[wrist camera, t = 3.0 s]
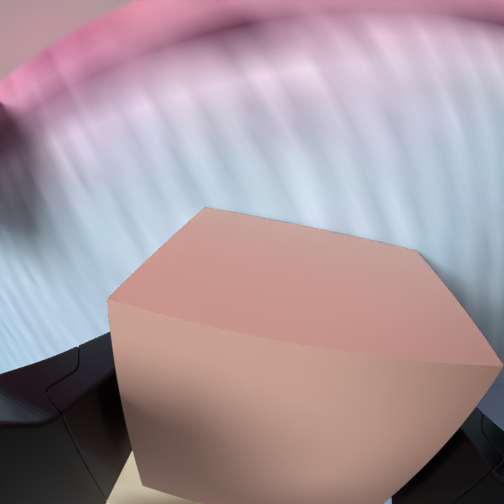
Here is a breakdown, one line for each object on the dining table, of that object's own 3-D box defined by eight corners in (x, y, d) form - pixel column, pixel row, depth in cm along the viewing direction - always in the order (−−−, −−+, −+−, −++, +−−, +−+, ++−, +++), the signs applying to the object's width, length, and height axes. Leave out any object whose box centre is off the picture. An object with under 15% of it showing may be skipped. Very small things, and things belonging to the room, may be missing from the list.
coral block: (416, 250, 8) (503, 366, 4) (351, 399, 10) (363, 518, 6) (205, 206, 8) (107, 298, 4) (191, 370, 11) (142, 485, 6)
